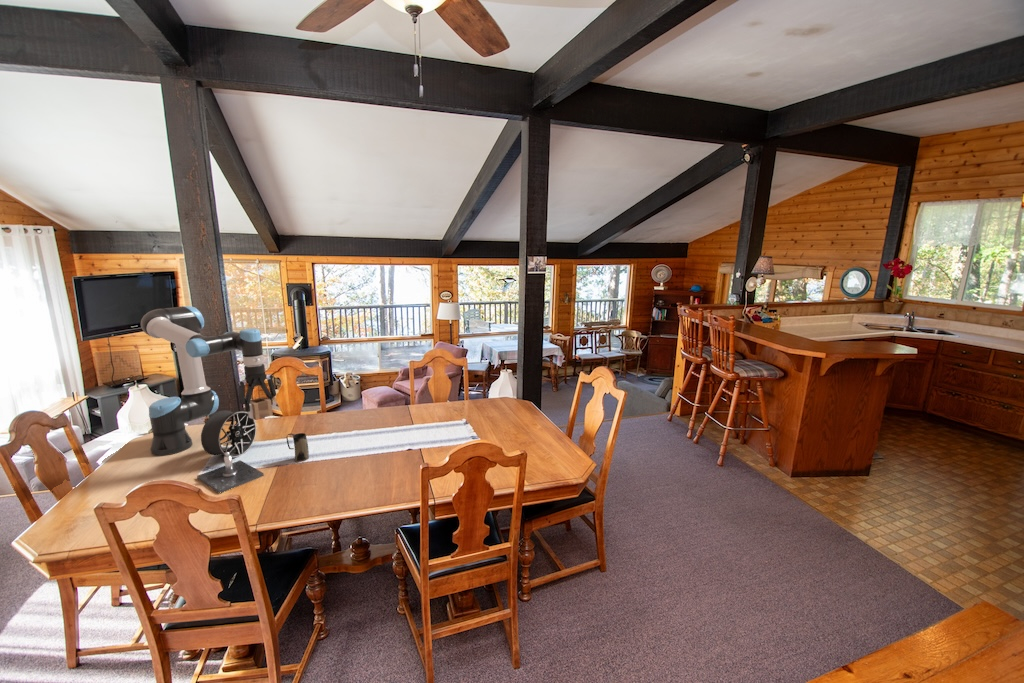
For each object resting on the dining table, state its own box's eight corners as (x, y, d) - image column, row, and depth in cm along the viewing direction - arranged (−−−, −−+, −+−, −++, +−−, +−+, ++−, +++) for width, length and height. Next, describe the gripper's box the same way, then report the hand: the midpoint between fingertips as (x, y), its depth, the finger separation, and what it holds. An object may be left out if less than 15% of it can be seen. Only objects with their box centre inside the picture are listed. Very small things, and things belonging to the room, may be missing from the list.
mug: (310, 455, 189) (307, 430, 186) (307, 461, 184) (304, 435, 181) (291, 457, 187) (288, 431, 185) (287, 463, 182) (284, 437, 180)
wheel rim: (222, 465, 180) (215, 421, 176) (204, 463, 182) (197, 419, 178) (258, 445, 199) (253, 405, 195) (242, 443, 201) (236, 403, 197)
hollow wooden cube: (248, 416, 185) (246, 401, 184) (264, 411, 191) (262, 397, 190) (256, 419, 182) (254, 404, 180) (272, 414, 187) (270, 399, 186)
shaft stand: (197, 478, 169) (193, 453, 167) (240, 462, 182) (237, 439, 180) (219, 493, 158) (215, 467, 156) (263, 475, 171) (260, 451, 169)
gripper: (232, 371, 172) (240, 424, 176) (281, 361, 188) (287, 410, 192) (224, 368, 176) (231, 420, 180) (273, 359, 192) (278, 407, 196)
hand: (260, 415), depth 186 cm, fingers closed on hollow wooden cube, 7 cm apart
